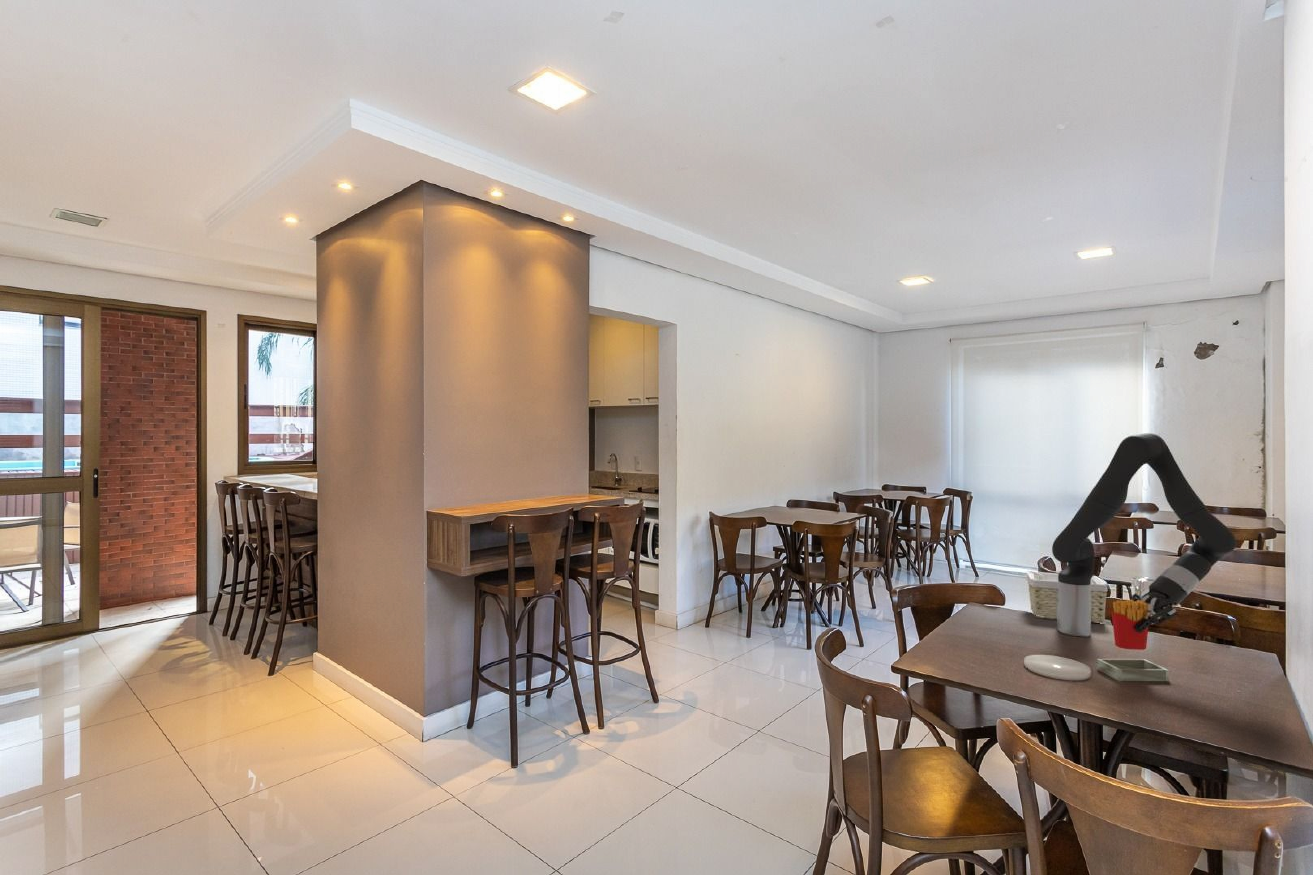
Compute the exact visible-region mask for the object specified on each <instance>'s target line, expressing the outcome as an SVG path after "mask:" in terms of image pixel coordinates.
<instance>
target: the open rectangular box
mask: <svg viewBox="0 0 1313 875" xmlns="http://www.w3.org/2000/svg"><path fill="white" fill-rule="evenodd" d="M1096 670H1098V671H1099V672H1101V673H1103V674H1105V675H1107V676H1109V677H1110V678H1112V679H1114V680H1116V681H1118V682H1170V670H1169V669H1167V668H1165V667H1164V666H1161V665H1158V664H1156V663H1154V662H1152V661H1149V660H1148V659H1145V658H1096Z"/></svg>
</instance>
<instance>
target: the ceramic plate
mask: <svg viewBox="0 0 1313 875" xmlns="http://www.w3.org/2000/svg"><path fill="white" fill-rule="evenodd" d="M1023 661H1024V665H1023V666H1024V667H1025V668H1026V669H1027V668H1028V669H1027V670H1029V671H1030V672H1032V673H1035V674H1036V675H1037V674H1038V675H1040V676H1044V677H1047V678H1052V679H1056V680H1064V681H1084V680H1085V681H1086V680H1088V679H1090V677H1091V673H1092V671H1091V667H1089V666H1088V665H1086V664H1085V663H1082V662H1080V661H1078V660H1074V659H1071V658H1067V657H1064V656H1057V655H1053V654H1051V655H1050V654H1031V655H1027V656H1025V657H1024V659H1023Z"/></svg>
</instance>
